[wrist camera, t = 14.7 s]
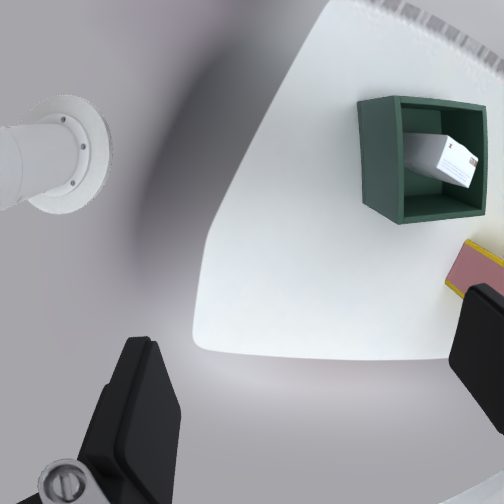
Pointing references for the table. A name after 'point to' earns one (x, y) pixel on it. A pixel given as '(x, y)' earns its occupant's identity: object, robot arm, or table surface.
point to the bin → (407, 182)
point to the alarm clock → (475, 270)
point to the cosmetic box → (438, 158)
